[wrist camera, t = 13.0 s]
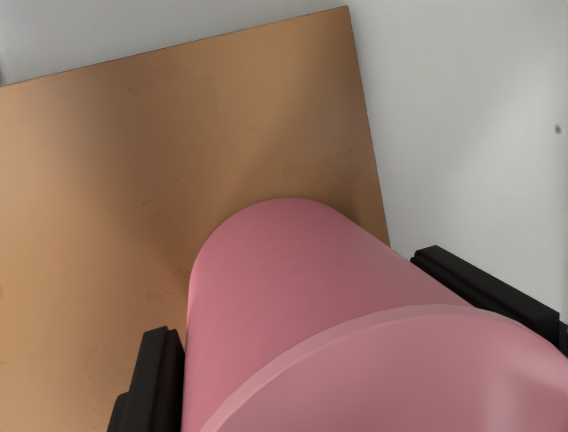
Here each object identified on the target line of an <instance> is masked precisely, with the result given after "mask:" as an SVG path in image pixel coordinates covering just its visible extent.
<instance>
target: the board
mask: <svg viewBox="0 0 568 432" xmlns="http://www.w3.org/2000/svg"><path fill="white" fill-rule="evenodd" d="M277 198H302V199H309V200H313V201H316V202H320V203H322V204H325V205H327V206H329V207H331V208H333V209H335V210H336V211H338V212H340V213H341V214H343V215H344V216H345V217H347V218H348V219H350V220H351V221H353V222H354V223H355V224H357V225H358V226H360V227H361V228H363V229H364V230H365V231H367V232H368V233H370V234H371V235H373V236H374V237H375V238H377V239H378V240H380V241H381V242H383V243H384V244H385V245H387V246H388V247H390V242H389V236H388V231H387V225H386V219H385V214H384V208H383V202H382V196H381V191H380V185H379V179H378V174H377V168H376V162H375V157H374V151H373V145H372V139H371V134H370V128H369V122H368V117H367V111H366V105H365V99H364V94H363V88H362V82H361V77H360V71H359V65H358V59H357V54H356V48H355V42H354V37H353V31H352V25H351V19H350V14H349V8H348V6H347V5H346V6H341V7H337V8H333V9H328V10H324V11H320V12H316V13H311V14H307V15H303V16H299V17H294V18H290V19H286V20H282V21H277V22H273V23H269V24H264V25H260V26H256V27H252V28H247V29H243V30H239V31H235V32H230V33H226V34H222V35H217V36H213V37H209V38H205V39H200V40H196V41H192V42H188V43H183V44H179V45H175V46H171V47H166V48H162V49H158V50H153V51H149V52H145V53H141V54H136V55H132V56H128V57H124V58H119V59H115V60H111V61H106V62H102V63H98V64H94V65H89V66H85V67H81V68H77V69H72V70H68V71H64V72H60V73H55V74H51V75H47V76H42V77H38V78H34V79H30V80H25V81H21V82H17V83H13V84H8V85H4V86H0V432H107V428H108V425H109V421H110V418H111V414H112V411H113V408H114V404H115V401H116V399H117V396H118V395H120V394H122V393H125V392H128V391H129V388H130V384H131V380H132V376H133V372H134V368H135V364H136V360H137V356H138V352H139V348H140V344H141V340H142V336H143V333H144V332H146V331H149V330H153V329H156V328H159V327H163V326H167V327H168V328H169V330H172V329H176V330H177V331H178V334H179V337H180V340H181V343H182V346H183V349H184V351H185V344H186V328H187V311H188V294H189V283H190V276H191V272H192V269H193V265H194V262H195V260H196V258H197V256H198V253H199V251H200V250H201V248H202V246H203V245H204V243H205V242H206V240H207V239H208V238H209V237H210V235H211V234H212V233H213V232H214V231H215V230H216V229H217V228H218V227H219V226H220V225H221V224H222V223H223V222H224V221H225V220H227V219H228V218H230V217H231V216H232V215H234V214H235V213H237V212H239V211H241V210H242V209H244V208H246V207H249V206H251V205H254V204H256V203H259V202H262V201H266V200H270V199H277Z"/></svg>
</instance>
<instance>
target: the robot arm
mask: <svg viewBox="0 0 568 432" xmlns="http://www.w3.org/2000/svg"><path fill="white" fill-rule="evenodd" d="M410 262H411V263H412V264H414V265H415V266H417V267H418V268H420V269H421V270H422V271H424V272H425V273H427V274H428V275H430V276H431V277H432V278H434V279H435V280H437V281H438V282H440V283H441V284H442V285H444V286H445V287H447V288H448V289H450V290H451V291H452V292H454V293H455V294H457V295H458V296H459V297H461V298H462V299H464V300H465V301H467V302H468V303H469V304H471V305H472V306H474V307H475V308H478V309H482V310H487V311H491V312H495V313H498V314H500V315H503V316H505V317H507V318H510V319H512V320H515V321H517V322H519V323H521V324H522V325H524V326H525V327H527V328H528V329H530V330H532V331H533V332H535V333H536V334H538V335H540V336H541V337H543V338H544V339H546V340H547V341H549V342H550V343H551V344H553V345H554V346H555V347H556V348H557V349H558V350H559V351H560V352H561V353H562V354H563V355H564V356H566V357H567V359H568V325H566V324H564V323H563V322H561V321H559V312H557V311H555V310H553V309H551V308H550V307H548V306H546V305H544V304H542V303H541V302H539V301H537V300H535V299H533V298H532V297H530V296H528V295H526V294H524V293H522V292H521V291H519V290H517V289H515V288H513V287H512V286H510V285H508V284H506V283H504V282H503V281H501V280H499V279H497V278H495V277H493V276H492V275H490V274H488V273H486V272H484V271H483V270H481V269H479V268H477V267H475V266H474V265H472V264H470V263H468V262H466V261H464V260H463V259H461V258H459V257H457V256H455V255H454V254H452V253H450V252H448V251H446V250H444V249H443V248H441V247H439V246H437V245H434V246H430V247H427V248H424V249H420V250H417V251H416V252H415V254H414V257H412V258H411V259H410ZM184 361H185V351H184V349H183V346H182V343H181V340H180V337H179V334H178V331H177V330H176V329H172V330H169V328H168V327H167V326H163V327H159V328H156V329H153V330H149V331H146V332H144V333H143V336H142V340H141V344H140V348H139V352H138V356H137V360H136V364H135V368H134V372H133V376H132V380H131V384H130V388H129V391H128V392H125V393H122V394H120V395H118V396H117V399H116V401H115V404H114V408H113V411H112V414H111V418H110V421H109V425H108V428H107V432H180V428H181V411H182V395H183V378H184Z"/></svg>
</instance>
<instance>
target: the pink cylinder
mask: <svg viewBox="0 0 568 432" xmlns="http://www.w3.org/2000/svg"><path fill="white" fill-rule="evenodd" d="M180 432H568V359H567V357H566V356H564V355H563V354H562V353H561V352H560V351H559V350H558V349H557V348H556V347H555V346H554V345H553V344H551V343H550V342H549V341H547V340H546V339H544V338H543V337H541V336H540V335H538V334H536V333H535V332H533V331H532V330H530V329H528V328H527V327H525V326H524V325H522V324H521V323H519V322H517V321H515V320H512V319H510V318H507V317H505V316H503V315H500V314H498V313H495V312H491V311H487V310H482V309H478V308H475V307H474V306H472V305H471V304H469V303H468V302H467V301H465V300H464V299H462V298H461V297H459V296H458V295H457V294H455V293H454V292H452V291H451V290H450V289H448V288H447V287H445V286H444V285H442V284H441V283H440V282H438V281H437V280H435V279H434V278H432V277H431V276H430V275H428V274H427V273H425V272H424V271H422V270H421V269H420V268H418V267H417V266H415V265H414V264H412V263H411V262H410V261H408V260H407V259H405V258H404V257H402V256H401V255H400V254H398V253H397V252H395V251H394V250H392V249H391V248H390V247H388V246H387V245H385V244H384V243H383V242H381V241H380V240H378V239H377V238H375V237H374V236H373V235H371V234H370V233H368V232H367V231H365V230H364V229H363V228H361V227H360V226H358V225H357V224H355V223H354V222H353V221H351V220H350V219H348V218H347V217H345V216H344V215H343V214H341V213H340V212H338V211H336V210H335V209H333V208H331V207H329V206H327V205H325V204H322V203H320V202H316V201H313V200H309V199H302V198H277V199H270V200H266V201H262V202H259V203H256V204H254V205H251V206H249V207H246V208H244V209H242V210H241V211H239V212H237V213H235V214H234V215H232V216H231V217H230V218H228V219H227V220H225V221H224V222H223V223H222V224H221V225H220V226H219V227H218V228H217V229H216V230H215V231H214V232H213V233H212V234H211V235H210V237H209V238H208V239H207V240H206V242H205V243H204V245H203V246H202V248H201V250H200V251H199V253H198V256H197V258H196V260H195V262H194V265H193V269H192V272H191V276H190V283H189V294H188V311H187V328H186V344H185V361H184V378H183V395H182V411H181V428H180Z"/></svg>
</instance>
